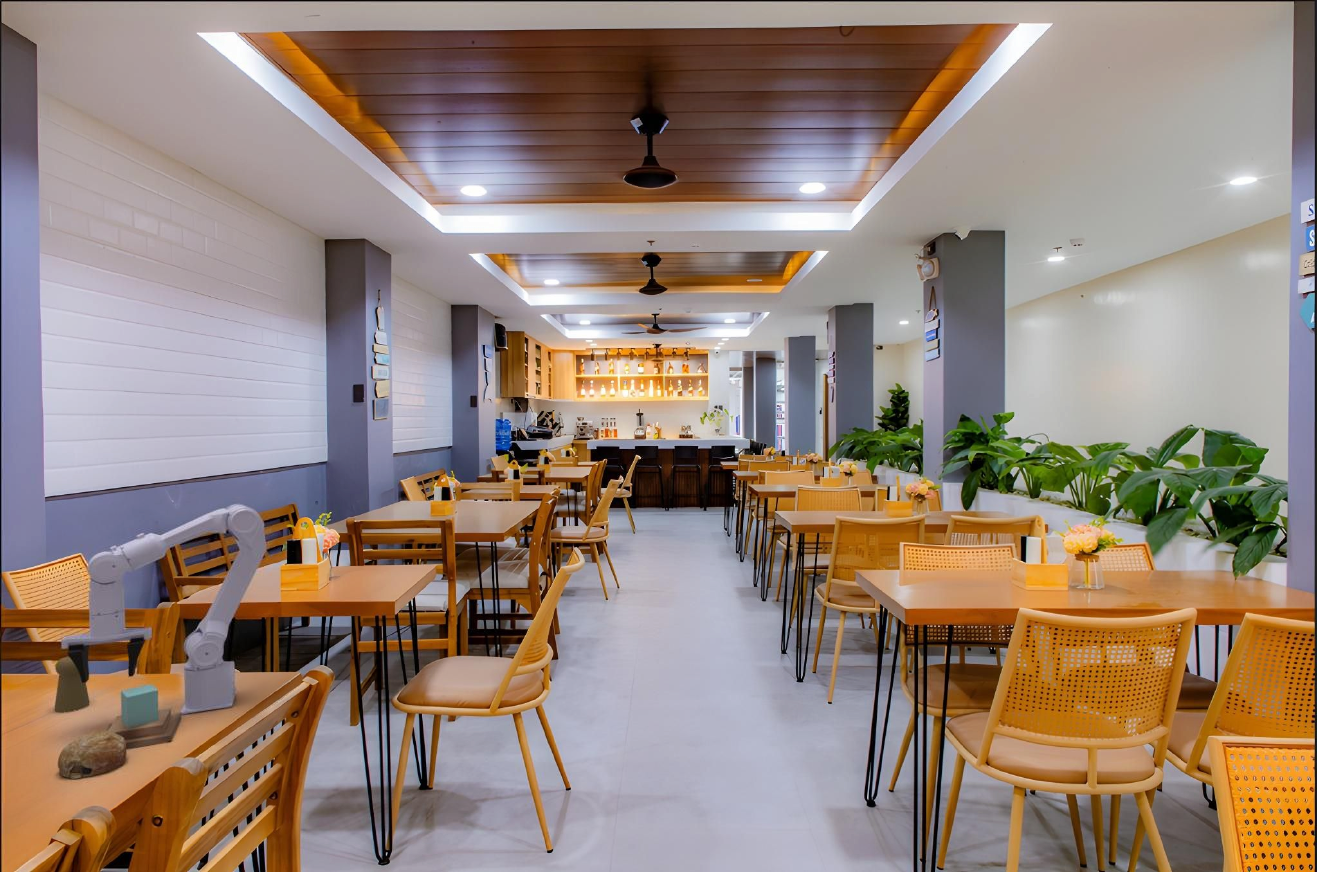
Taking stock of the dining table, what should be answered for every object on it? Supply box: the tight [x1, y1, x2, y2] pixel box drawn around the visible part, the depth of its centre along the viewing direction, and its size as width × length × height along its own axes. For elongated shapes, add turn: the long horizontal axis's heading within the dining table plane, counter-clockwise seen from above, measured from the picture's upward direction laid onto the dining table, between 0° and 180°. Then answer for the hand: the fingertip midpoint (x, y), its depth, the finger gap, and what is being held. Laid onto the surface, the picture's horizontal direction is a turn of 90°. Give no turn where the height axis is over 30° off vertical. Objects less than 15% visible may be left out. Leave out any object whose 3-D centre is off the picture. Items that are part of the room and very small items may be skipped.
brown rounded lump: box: [57, 729, 127, 780], centre depth 130 cm, size 10×10×8 cm
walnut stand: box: [105, 707, 182, 750], centre depth 142 cm, size 12×12×3 cm
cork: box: [54, 655, 91, 714], centre depth 157 cm, size 6×6×11 cm
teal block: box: [120, 683, 159, 728], centre depth 142 cm, size 5×5×6 cm
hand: (108, 678), depth 147 cm, fingers open, 7 cm apart
